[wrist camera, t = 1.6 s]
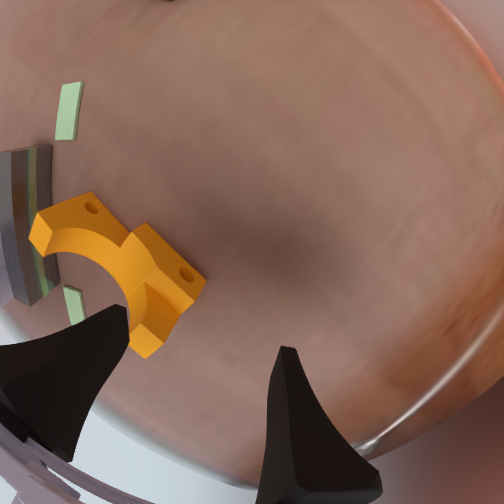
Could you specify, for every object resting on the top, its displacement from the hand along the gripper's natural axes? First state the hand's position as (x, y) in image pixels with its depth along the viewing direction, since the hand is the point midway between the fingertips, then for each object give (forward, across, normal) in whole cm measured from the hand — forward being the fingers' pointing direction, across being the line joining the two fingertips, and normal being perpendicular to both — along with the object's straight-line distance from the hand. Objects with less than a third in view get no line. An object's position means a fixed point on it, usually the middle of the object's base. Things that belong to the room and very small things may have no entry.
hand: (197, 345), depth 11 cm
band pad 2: (+9, +16, +10) cm, 21 cm away
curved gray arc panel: (+9, +20, 0) cm, 22 cm away
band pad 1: (+9, +16, -10) cm, 21 cm away
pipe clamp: (+10, +8, +1) cm, 13 cm away
